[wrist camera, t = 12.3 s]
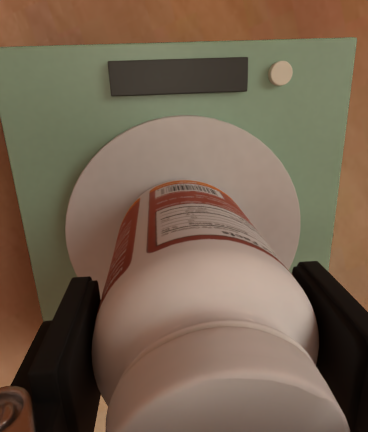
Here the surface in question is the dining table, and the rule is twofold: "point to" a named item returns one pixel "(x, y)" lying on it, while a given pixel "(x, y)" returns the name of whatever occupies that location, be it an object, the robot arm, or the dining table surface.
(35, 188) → the scale
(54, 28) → the dining table surface
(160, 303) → the pill bottle
